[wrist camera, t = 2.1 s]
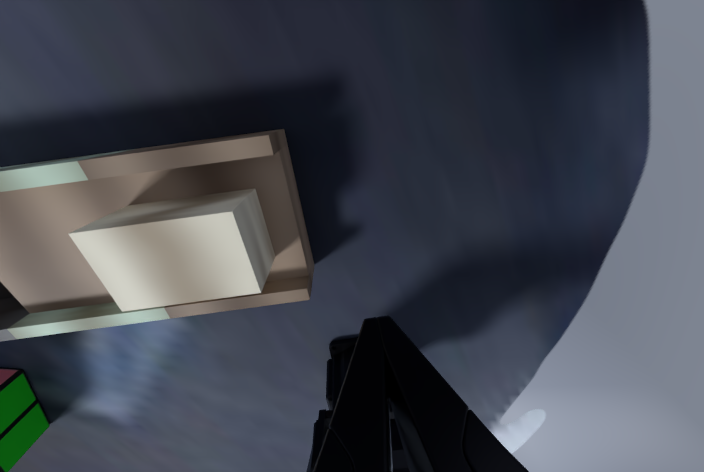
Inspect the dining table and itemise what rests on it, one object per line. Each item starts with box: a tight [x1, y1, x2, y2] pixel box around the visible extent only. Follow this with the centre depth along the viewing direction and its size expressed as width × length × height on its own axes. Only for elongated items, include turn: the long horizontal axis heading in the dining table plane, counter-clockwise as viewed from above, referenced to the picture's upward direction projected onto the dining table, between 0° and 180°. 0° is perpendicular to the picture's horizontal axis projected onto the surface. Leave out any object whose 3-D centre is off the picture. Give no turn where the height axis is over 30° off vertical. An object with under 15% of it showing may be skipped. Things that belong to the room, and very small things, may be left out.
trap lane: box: [0, 129, 314, 341], centre depth 18 cm, size 28×11×5 cm, turn 97°
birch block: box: [69, 188, 276, 312], centre depth 15 cm, size 8×5×4 cm, turn 97°
